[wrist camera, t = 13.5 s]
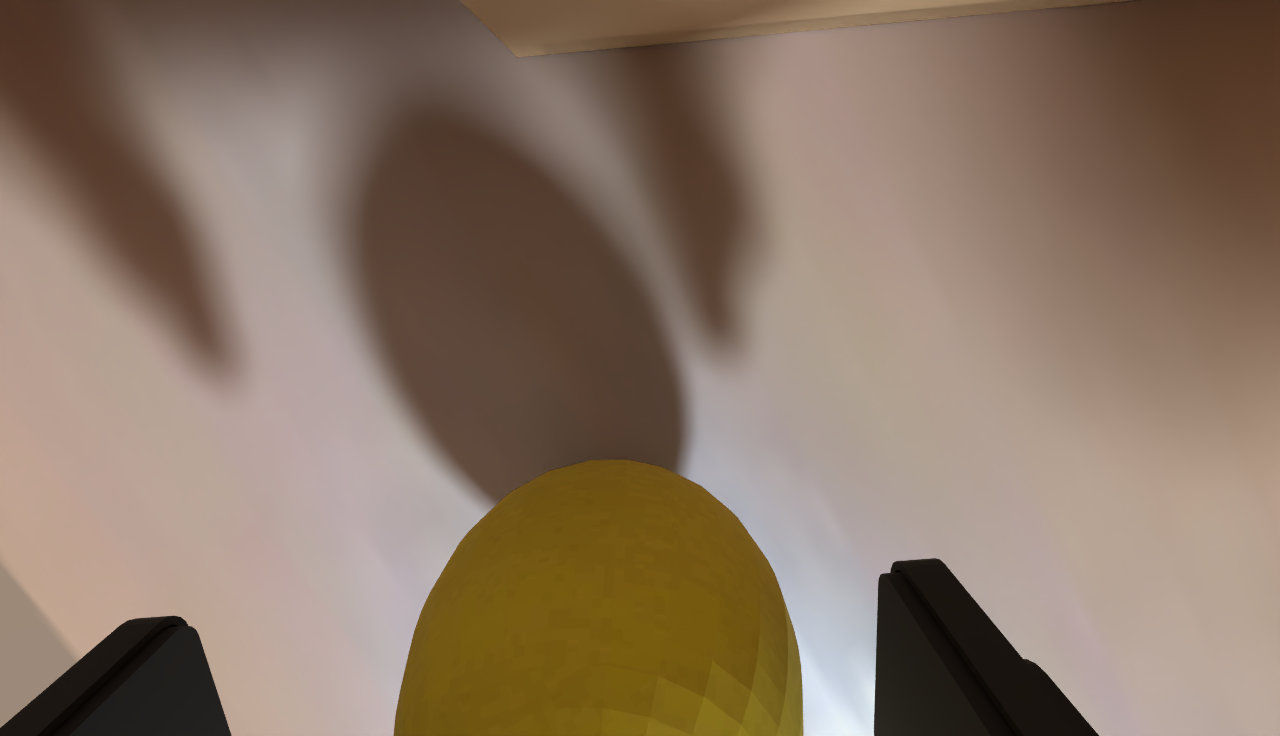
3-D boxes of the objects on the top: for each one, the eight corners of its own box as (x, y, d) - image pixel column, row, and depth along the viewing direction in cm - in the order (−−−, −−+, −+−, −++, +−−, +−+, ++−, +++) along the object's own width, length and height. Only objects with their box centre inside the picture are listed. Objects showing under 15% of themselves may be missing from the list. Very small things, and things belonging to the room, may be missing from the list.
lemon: (568, 670, 14) (468, 1239, 6) (438, 467, 13) (124, 875, 5) (795, 576, 13) (987, 1093, 6) (683, 350, 12) (733, 627, 4)
